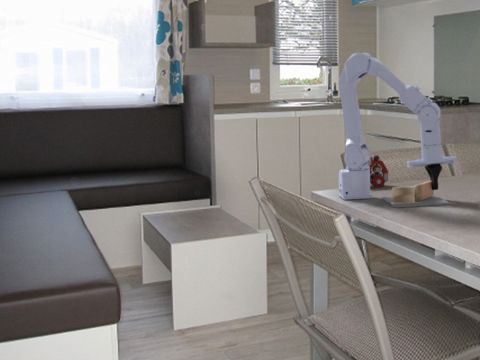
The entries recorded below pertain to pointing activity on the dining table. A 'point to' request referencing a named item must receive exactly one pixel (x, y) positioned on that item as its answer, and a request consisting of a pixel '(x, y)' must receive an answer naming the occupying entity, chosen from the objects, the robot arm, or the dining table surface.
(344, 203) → the dining table surface
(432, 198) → the card
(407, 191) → the fence fixed
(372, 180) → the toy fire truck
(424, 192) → the tan flat block
